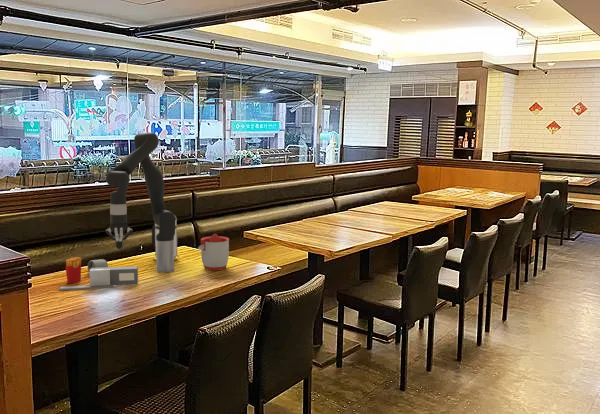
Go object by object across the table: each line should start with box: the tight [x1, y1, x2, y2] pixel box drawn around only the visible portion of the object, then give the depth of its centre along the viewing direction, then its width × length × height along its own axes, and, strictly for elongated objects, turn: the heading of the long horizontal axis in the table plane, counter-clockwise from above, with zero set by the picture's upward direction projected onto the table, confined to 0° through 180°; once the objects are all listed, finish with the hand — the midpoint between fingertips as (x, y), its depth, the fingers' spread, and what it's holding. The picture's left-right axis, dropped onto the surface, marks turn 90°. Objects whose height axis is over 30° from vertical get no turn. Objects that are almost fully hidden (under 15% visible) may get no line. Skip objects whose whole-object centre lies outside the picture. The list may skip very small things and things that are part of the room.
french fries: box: [65, 256, 82, 284], centre depth 268 cm, size 8×4×12 cm, turn 152°
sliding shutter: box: [89, 269, 110, 286], centre depth 258 cm, size 9×1×8 cm, turn 103°
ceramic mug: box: [87, 258, 109, 274], centre depth 284 cm, size 11×8×8 cm
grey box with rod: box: [59, 265, 139, 292], centre depth 261 cm, size 35×10×8 cm, turn 103°
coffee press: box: [151, 214, 180, 261], centre depth 314 cm, size 17×16×30 cm
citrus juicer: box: [197, 233, 230, 272], centre depth 296 cm, size 16×17×20 cm
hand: (119, 248), depth 258 cm, fingers closed
